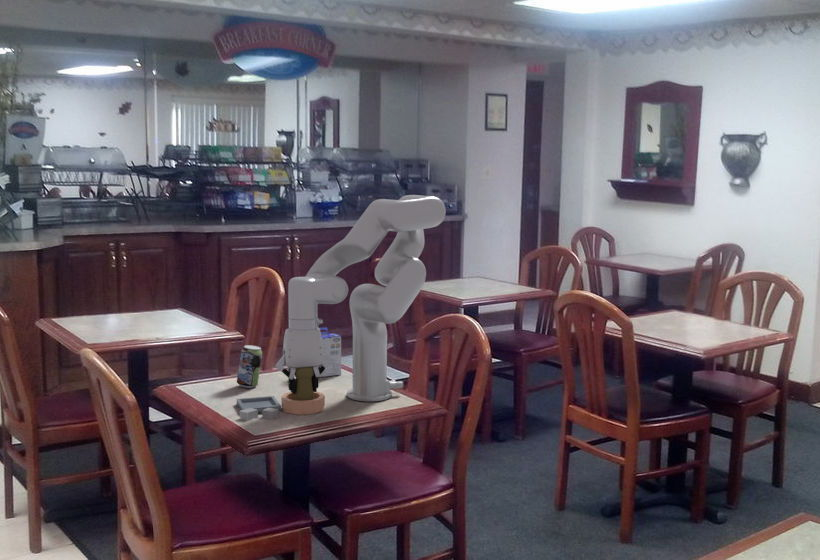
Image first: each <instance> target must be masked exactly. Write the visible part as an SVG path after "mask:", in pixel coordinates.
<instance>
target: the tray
mask: <svg viewBox="0 0 820 560" xmlns="http://www.w3.org/2000/svg"><path fill="white" fill-rule="evenodd" d="M236 406H237V408H238V409H239V410H240V411H241V410H244V409H248V408H253V409H257V410H258V414H262V410H264V409H266V408H274V409H279V411H280V412H282V404H280V402H279V401H278V400H277V398H276V397H275V396H274V395H268V396H257V397H255V396H254V397H244V398H243V397H242V398H236ZM240 411H239V412H240Z"/></svg>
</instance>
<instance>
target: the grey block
mask: <svg viewBox="0 0 820 560" xmlns="http://www.w3.org/2000/svg"><path fill="white" fill-rule="evenodd" d="M261 414H262V418H266V419H271V420H273V419H275V417H276V418H278V417H279V415H280V412H279V409H274V408H266V409H264V410H262V413H261ZM277 416H278V417H277Z"/></svg>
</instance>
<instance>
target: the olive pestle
mask: <svg viewBox="0 0 820 560" xmlns="http://www.w3.org/2000/svg"><path fill="white" fill-rule="evenodd" d="M313 374H314V370H313V367H303V368H296V371H295V374H294V378H295V380H296V393H295V394H294V397H293V400H299V401H305V400H313V399H314V393H313V385H312V376H313Z"/></svg>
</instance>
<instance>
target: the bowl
mask: <svg viewBox="0 0 820 560" xmlns="http://www.w3.org/2000/svg"><path fill="white" fill-rule="evenodd" d="M313 393H314V399H313V400H305V401H299V400H293V397H294V394H292V392H291V391H289V392H285V393H283V394H282V395H281V399H280V400H281V411H283V412H284V413H285V412H286V413H285V414H288V413H289V415H295V416H308V414H310V415H315V413H316V414H319V413H321V412H324V409H325V406H326V402H325V401H326V399H325V398H326V397H325V395H324V393H323V392H320V391H317V392H313Z"/></svg>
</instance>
